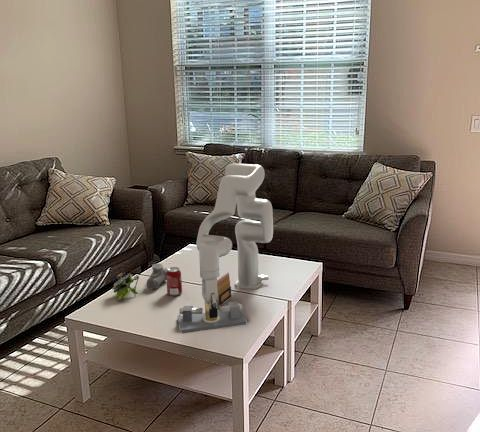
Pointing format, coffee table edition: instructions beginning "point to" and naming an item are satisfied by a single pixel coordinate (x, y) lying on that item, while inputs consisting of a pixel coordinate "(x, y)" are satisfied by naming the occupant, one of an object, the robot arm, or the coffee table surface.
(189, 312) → the grey block on rod
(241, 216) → the robot arm
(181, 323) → the shaft rig
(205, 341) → the coffee table surface
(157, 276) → the pipe fitting
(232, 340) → the coffee table surface
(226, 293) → the ammunition clip
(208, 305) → the tan rounded cylinder
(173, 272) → the soda can
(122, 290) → the passion flower
